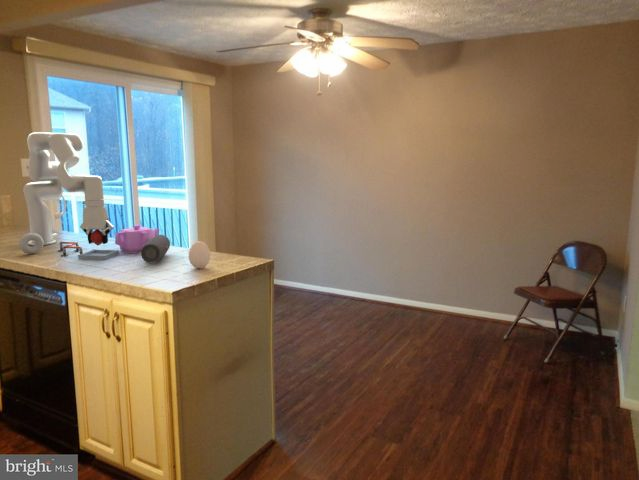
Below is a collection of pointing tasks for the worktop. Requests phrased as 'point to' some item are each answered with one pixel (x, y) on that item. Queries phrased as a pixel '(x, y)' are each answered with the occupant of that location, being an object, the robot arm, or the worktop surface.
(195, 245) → the egg
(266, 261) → the worktop surface
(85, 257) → the dish
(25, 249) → the donut
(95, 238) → the onion
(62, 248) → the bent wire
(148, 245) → the bluetooth speaker
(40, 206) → the robot arm
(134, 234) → the teakettle
